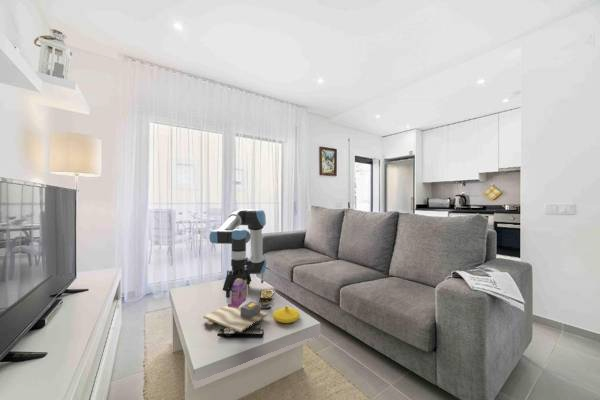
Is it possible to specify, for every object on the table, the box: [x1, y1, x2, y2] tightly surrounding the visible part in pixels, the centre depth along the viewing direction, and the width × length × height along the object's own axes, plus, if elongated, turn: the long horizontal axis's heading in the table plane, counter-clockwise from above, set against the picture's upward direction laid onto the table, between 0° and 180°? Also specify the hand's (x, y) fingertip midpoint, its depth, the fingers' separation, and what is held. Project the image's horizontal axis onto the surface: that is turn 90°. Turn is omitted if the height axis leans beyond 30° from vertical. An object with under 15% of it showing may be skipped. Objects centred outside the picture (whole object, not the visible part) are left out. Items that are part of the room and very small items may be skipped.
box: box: [227, 278, 247, 308], centre depth 130 cm, size 10×6×12 cm, turn 168°
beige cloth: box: [203, 304, 269, 333], centre depth 138 cm, size 25×28×4 cm
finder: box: [240, 301, 261, 319], centre depth 140 cm, size 9×7×5 cm
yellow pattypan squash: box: [272, 306, 301, 324], centre depth 142 cm, size 16×16×7 cm
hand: (237, 299), depth 130 cm, fingers closed on box, 11 cm apart
